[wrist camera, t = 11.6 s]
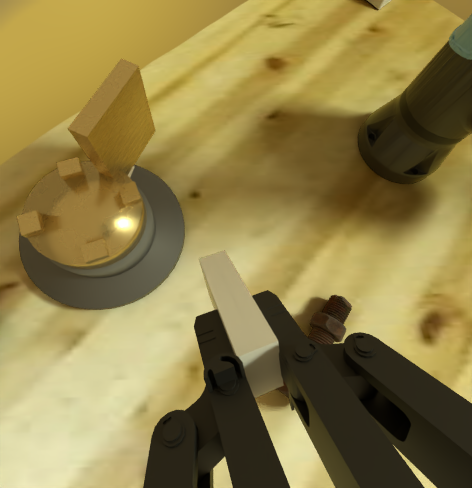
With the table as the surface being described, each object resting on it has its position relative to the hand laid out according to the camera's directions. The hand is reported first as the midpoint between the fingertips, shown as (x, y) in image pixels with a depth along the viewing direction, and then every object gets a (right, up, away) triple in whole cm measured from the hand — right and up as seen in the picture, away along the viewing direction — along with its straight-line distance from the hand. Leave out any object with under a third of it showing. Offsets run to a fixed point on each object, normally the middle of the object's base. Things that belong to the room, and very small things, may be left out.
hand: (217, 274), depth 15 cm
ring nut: (-15, +9, +20) cm, 27 cm away
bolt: (+12, -13, +23) cm, 29 cm away
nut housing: (-18, +3, +24) cm, 30 cm away
